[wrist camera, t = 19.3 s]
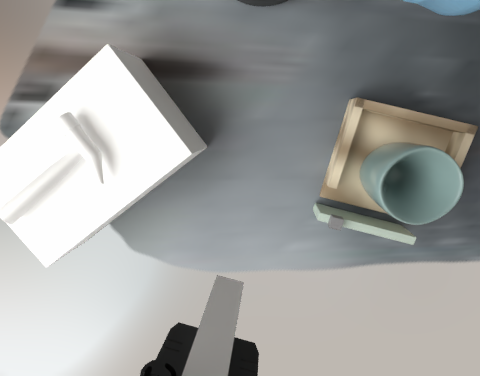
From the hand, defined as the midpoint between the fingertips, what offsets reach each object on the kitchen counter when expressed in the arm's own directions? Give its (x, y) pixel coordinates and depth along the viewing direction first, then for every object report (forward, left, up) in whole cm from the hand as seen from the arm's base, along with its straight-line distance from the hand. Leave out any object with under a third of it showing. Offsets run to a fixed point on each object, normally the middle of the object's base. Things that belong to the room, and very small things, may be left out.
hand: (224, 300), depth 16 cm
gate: (0, +15, -26) cm, 30 cm away
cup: (-7, +16, -26) cm, 31 cm away
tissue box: (+1, -21, -27) cm, 34 cm away
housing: (-8, +16, -26) cm, 32 cm away
